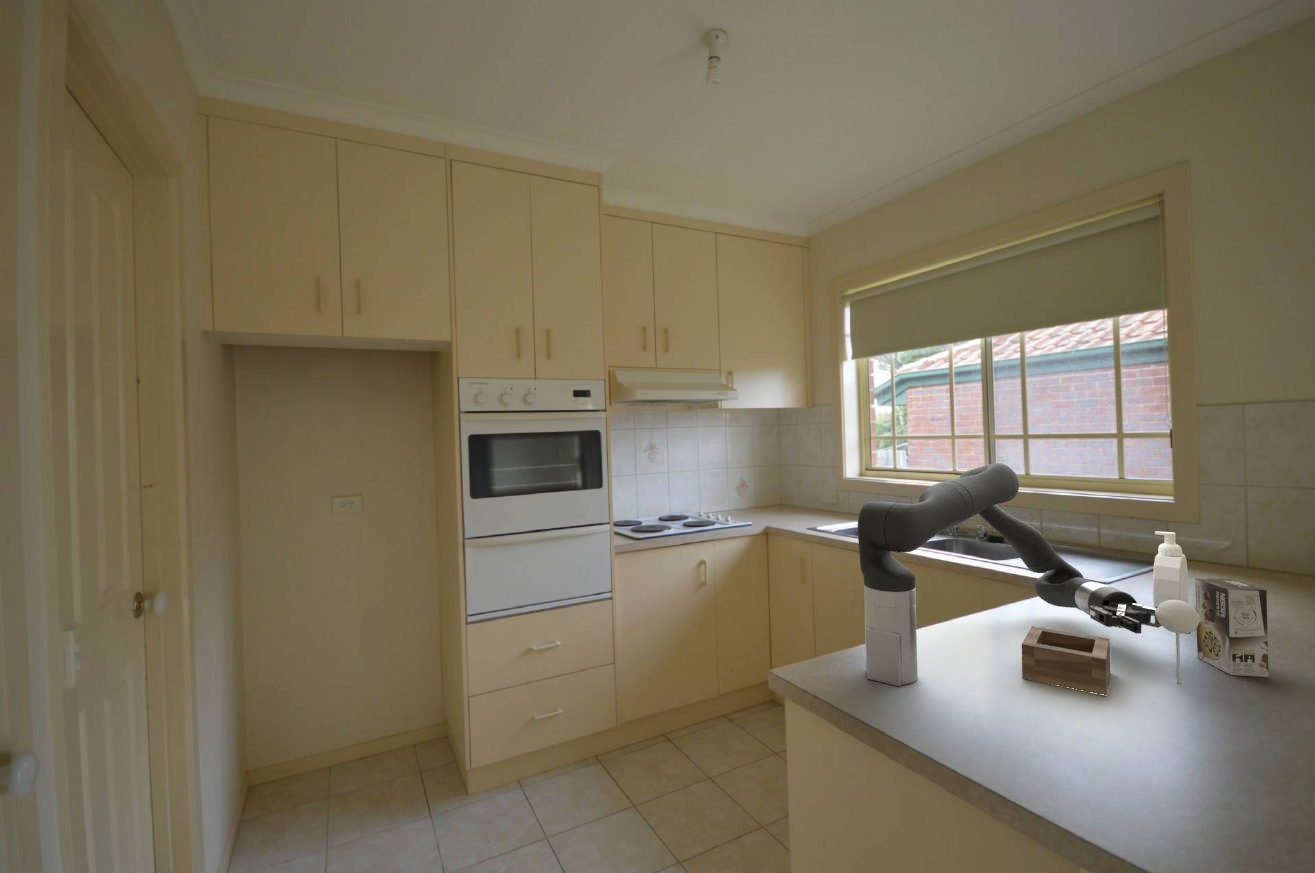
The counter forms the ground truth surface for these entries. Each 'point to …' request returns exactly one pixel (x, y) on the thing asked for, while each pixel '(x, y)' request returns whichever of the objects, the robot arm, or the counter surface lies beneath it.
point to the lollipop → (1177, 621)
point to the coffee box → (1232, 626)
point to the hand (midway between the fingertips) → (1164, 628)
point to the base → (1066, 659)
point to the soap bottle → (1170, 572)
